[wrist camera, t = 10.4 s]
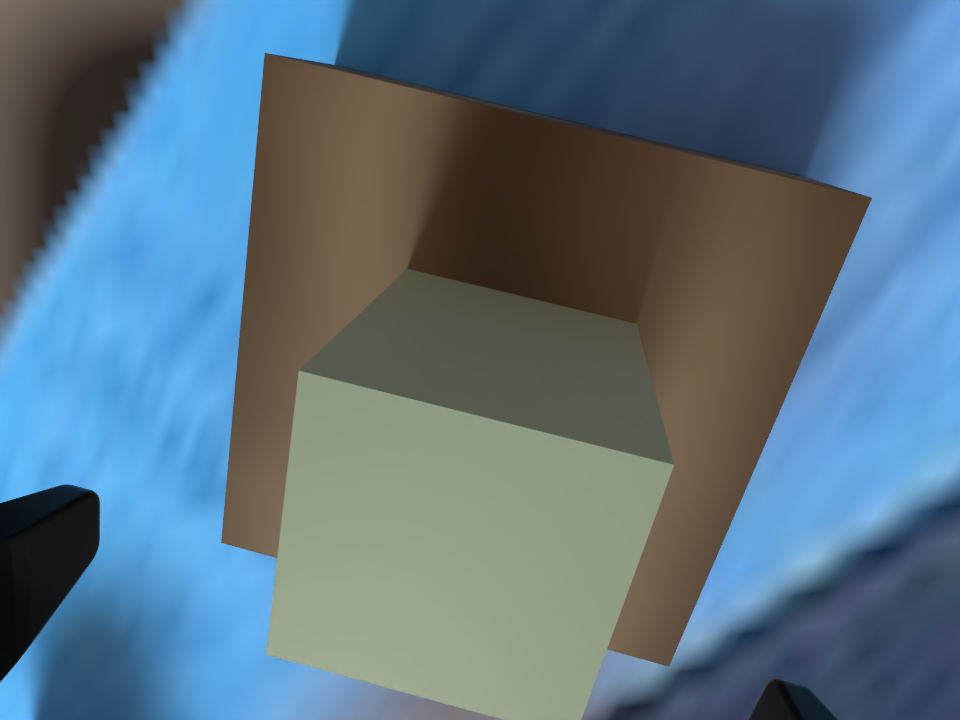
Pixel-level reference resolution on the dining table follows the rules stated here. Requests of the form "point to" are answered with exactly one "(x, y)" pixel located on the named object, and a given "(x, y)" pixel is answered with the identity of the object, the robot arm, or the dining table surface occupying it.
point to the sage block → (468, 498)
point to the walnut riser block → (533, 281)
